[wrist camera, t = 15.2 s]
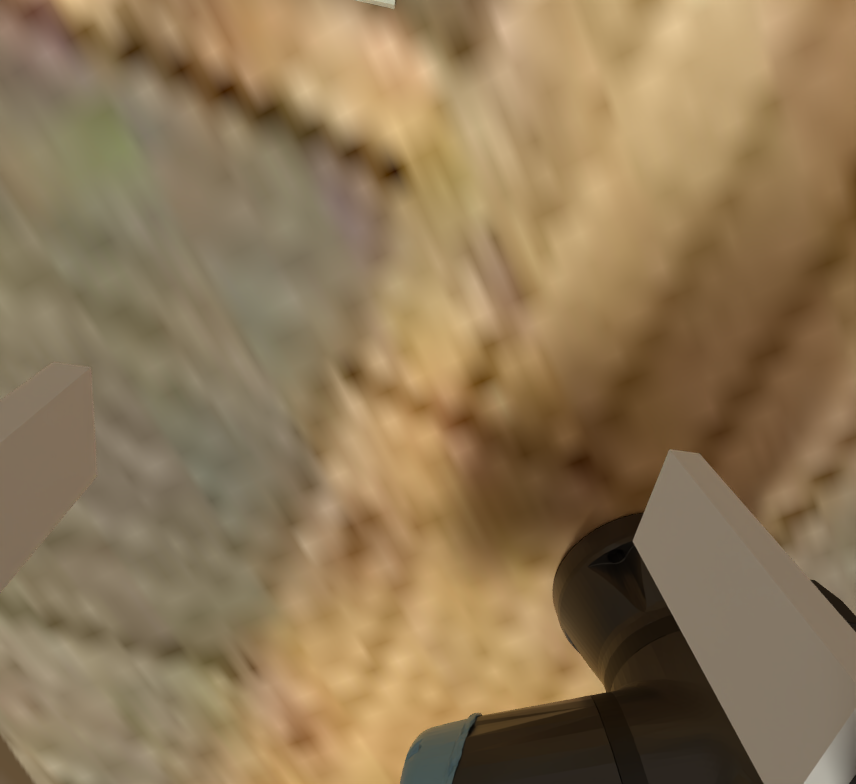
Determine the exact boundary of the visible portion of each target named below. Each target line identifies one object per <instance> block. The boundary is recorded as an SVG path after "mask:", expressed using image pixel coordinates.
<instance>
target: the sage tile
mask: <svg viewBox="0 0 856 784" xmlns="http://www.w3.org/2000/svg"><path fill="white" fill-rule="evenodd" d="M356 1H361V2H365V3H370V4H374V5H379V6H383V7H388V8H392V9H395V3H396V0H356Z"/></svg>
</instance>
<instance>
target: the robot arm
mask: <svg viewBox="0 0 856 784" xmlns="http://www.w3.org/2000/svg"><path fill="white" fill-rule="evenodd" d="M96 477H97V461H96V443H95V426H94V408H93V391H92V373H91V367H86V366H79V365H72V364H65V363H58V362H52V363H51V364H50V365H48V366H47V367H45V368H44V369H43V370H41V371H40V372H39V373H37V374H36V375H34V376H33V377H32V378H30V379H29V380H27V381H26V382H25V383H23V384H22V385H21V386H19V387H18V388H16V389H15V390H14V391H12V392H11V393H10V394H8V395H7V396H5V397H4V398H3V399H1V400H0V593H1V591H2V590H3V589H4V588H5V587H6V585H7V584H8V583H9V582H10V580H11V579H12V578H13V577H14V576H15V574H16V573H17V572H18V571H19V570H20V568H21V567H22V566H23V565H24V564H25V562H26V561H27V560H28V559H29V558H30V556H31V555H32V554H33V553H34V552H35V550H36V549H37V548H38V547H39V545H40V544H41V543H42V542H43V541H44V539H45V538H46V537H47V536H48V535H49V533H50V532H51V531H52V530H53V529H54V527H55V526H56V525H57V524H58V523H59V521H60V520H61V519H62V518H63V517H64V515H65V514H66V513H67V512H68V510H69V509H70V508H71V507H72V506H73V504H74V503H75V502H76V501H77V500H78V498H79V497H80V496H81V495H82V494H83V492H84V491H85V490H86V489H87V488H88V486H89V485H90V484H91V483H92V481H93V480H94V479H95V478H96ZM553 602H554V606H555V610H556V613H557V616H558V619H559V622H560V626H561V628H562V630H563V632H564V634H565V636H566V638H567V639H568V641H569V642H570V643H571V645H572V646H573V647H574V648H575V649H576V650H577V651H578V652H579V653H580V654H581V656H582V657H583V658H584V660H585V661H586V662H587V664H588V665H589V667H590V668H591V669H592V671H593V672H594V673H595V674H596V676H597V677H598V678H599V680H600V681H601V682H602V684H603V685H604V687H605V689H606V693H601V694H596V695H590V696H585V697H580V698H575V699H570V700H564V701H559V702H553V703H548V704H542V705H537V706H532V707H526V708H521V709H515V710H510V711H504V712H499V713H494V714H488V715H483V716H482V714H481V713H474V714H472V715H470V716H469V718H468V719H464V720H460V721H456V722H452V723H448V724H444V725H440V726H436V727H432V728H430V729H427V730H425V731H424V732H422V733H421V734H420V735H419V736H418V737H417V738H416V740H415V741H414V742H413V744H412V746H411V747H410V749H409V752H408V754H407V757H406V760H405V764H404V767H403V771H402V776H401V781H400V784H856V616H855V615H854V614H853V613H852V612H851V610H850V609H849V608H848V607H847V606H846V605H845V604H844V603H843V602H842V601H841V600H840V599H839V598H837V597H836V596H835V595H833V594H832V593H831V592H830V591H828V590H827V589H826V588H824V587H823V586H822V585H820V584H819V583H818V582H816V581H815V580H810V579H809V578H808V577H807V576H806V575H805V574H804V572H803V571H802V570H801V569H800V568H799V567H798V566H797V564H796V563H795V562H794V561H793V560H792V559H791V558H790V556H789V555H788V554H787V553H786V552H785V551H784V550H783V548H782V547H781V546H780V545H779V544H778V543H777V542H776V540H775V539H774V538H773V537H772V536H771V535H770V534H769V532H768V531H767V530H766V529H765V528H764V527H763V526H762V524H761V523H760V522H759V521H758V520H757V519H756V518H755V516H754V515H753V514H752V513H751V512H750V511H749V510H748V508H747V507H746V506H745V505H744V504H743V503H742V502H741V500H740V499H739V498H738V497H737V496H736V495H735V493H734V492H733V491H732V490H731V489H730V488H729V487H728V485H727V484H726V483H725V482H724V481H723V480H722V479H721V477H720V476H719V475H718V474H717V473H716V472H715V471H714V469H713V468H712V467H711V466H710V465H709V464H708V463H707V461H706V460H705V459H704V458H703V457H702V456H701V455H700V453H693V452H686V451H679V450H672V449H669V451H668V454H667V456H666V459H665V461H664V464H663V466H662V469H661V471H660V474H659V476H658V479H657V481H656V484H655V486H654V489H653V491H652V494H651V496H650V499H649V501H648V504H647V506H646V509H645V511H644V513H640V514H635V515H630V516H627V517H623V518H620V519H617V520H615V521H612V522H610V523H608V524H605V525H603V526H602V527H600V528H598V529H596V530H595V531H593V532H591V533H590V534H589V535H587V536H586V537H585V538H583V539H582V540H581V541H580V542H579V543H577V544H576V545H575V546H574V547H573V548H572V550H571V551H570V552H569V553H568V554H567V556H566V557H565V558H564V560H563V562H562V563H561V565H560V567H559V569H558V571H557V574H556V576H555V580H554V584H553Z"/></svg>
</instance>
